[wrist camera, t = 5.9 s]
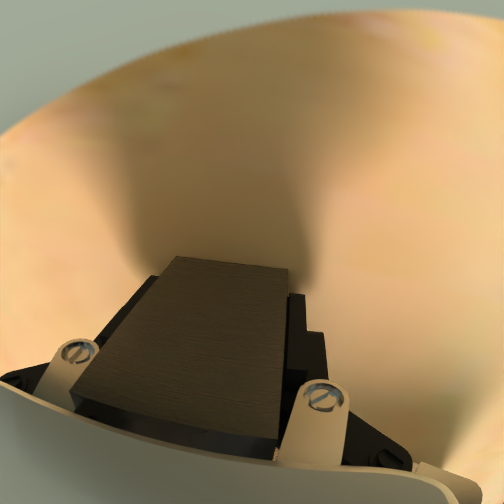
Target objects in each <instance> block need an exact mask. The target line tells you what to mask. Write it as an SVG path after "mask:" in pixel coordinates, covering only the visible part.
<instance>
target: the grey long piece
mask: <svg viewBox="0 0 504 504" xmlns="http://www.w3.org/2000/svg"><path fill="white" fill-rule="evenodd" d="M287 281H288V270H287V269H279V268H270V267H261V266H252V265H244V264H235V263H227V262H219V261H210V260H202V259H194V258H186V257H177V256H176V257H175V258H174V260H173V261H172V262H171V263H170V264H169V266H168V267H167V268H166V269H165V270H164V271H163V273H162V274H161V275H160V276H159V277H158V279H157V280H156V281H155V282H154V283H153V285H152V286H151V287H150V288H149V289H148V291H147V292H146V293H145V294H144V295H143V297H142V298H141V299H140V300H139V302H138V303H137V304H136V305H135V306H134V308H133V309H132V310H131V311H130V313H129V314H128V315H127V316H126V318H125V319H124V320H123V321H122V323H121V324H120V325H119V326H118V328H117V329H116V330H115V331H114V333H113V334H112V335H111V336H110V338H109V339H108V340H107V341H106V343H105V344H104V345H103V347H102V348H101V349H100V350H99V352H98V353H97V354H96V356H95V357H94V358H93V360H92V361H91V362H90V363H89V365H88V366H87V367H86V369H85V370H84V371H83V373H82V374H81V375H80V377H79V378H78V379H77V381H76V382H75V383H74V385H73V386H72V387H71V389H70V390H69V393H70V395H71V398H72V400H73V403H74V405H75V408H76V410H77V412H78V415H80V416H83V417H86V418H89V419H91V420H94V421H97V422H100V423H103V424H106V425H109V426H112V427H115V428H118V429H121V430H124V431H128V432H131V433H134V434H138V435H141V436H145V437H149V438H152V439H156V440H160V441H164V442H168V443H172V444H176V445H181V446H185V447H190V448H195V449H199V450H205V451H210V452H215V453H221V454H227V455H233V456H239V457H247V458H254V459H262V460H271V461H272V459H273V456H274V452H275V448H276V443H277V439H278V428H279V415H280V402H281V388H282V374H283V358H284V341H285V323H286V303H287Z"/></svg>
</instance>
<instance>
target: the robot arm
mask: <svg viewBox="0 0 504 504" xmlns="http://www.w3.org/2000/svg"><path fill="white" fill-rule="evenodd" d="M158 277H159V276H154V275H151V276H150V277H149V278H148V279H147V280H146V281H145V282H144V284H143V285H142V286H141V287H140V288H139V289H138V290H137V291H136V293H135V294H134V295H133V296H132V297H131V298H130V299H129V301H128V302H127V303H126V304H125V305H124V306H123V307H122V308H121V309H120V310H119V311H118V312H117V314H116V315H115V316H114V317H113V318H112V319H111V321H110V322H109V323H108V324H107V325H106V327H105V328H104V329H103V330H102V331H101V332H100V334H99V335H98V336H97V337H96V338H95V340H94V341H92V340H88V339H73V340H70V341H68V342H66V343H64V344H63V345H61V347H60V348H59V349H58V351H57V352H56V354H55V356H54V357H53V359H52V361H51V362H49V363H45V364H41V365H37V366H32V367H28V368H24V369H20V370H16V371H11V372H9V373H6V374H4V375H3V376H1V377H0V504H481V502H482V491H481V488H480V487H479V486H478V484H477V483H475V482H474V481H472V480H470V479H467V478H464V477H461V476H458V475H456V474H453V473H450V472H448V471H445V470H442V469H440V468H437V467H435V466H432V465H430V464H427V463H425V462H422V461H421V462H420V464H417V463H415V462H412V458H411V456H410V454H409V453H408V451H406V450H405V449H404V448H403V447H402V446H400V445H399V444H397V443H396V442H394V441H393V440H391V439H390V438H388V437H387V436H385V435H384V434H382V433H381V432H379V431H378V430H376V429H375V428H373V427H372V426H370V425H369V424H368V423H366V422H365V421H363V420H362V419H360V418H359V417H358V416H356V415H355V414H353V413H352V412H350V411H349V403H350V400H349V395H348V393H347V391H346V390H345V389H344V388H343V387H342V386H341V385H339V384H337V383H335V382H333V381H329V379H328V369H327V359H326V349H325V340H324V334H323V332H312V331H307V324H306V303H305V295H303V294H294V293H290V294H289V297H287V303H286V323H285V341H284V358H283V374H282V388H281V402H280V415H279V428H278V439H277V443H276V447H277V448H278V449H279V453H278V456H277V459H276V461H271V460H262V459H254V458H247V457H239V456H233V455H227V454H221V453H215V452H210V451H205V450H199V449H195V448H190V447H185V446H181V445H176V444H172V443H168V442H164V441H160V440H156V439H152V438H149V437H145V436H141V435H138V434H134V433H131V432H128V431H124V430H121V429H118V428H115V427H112V426H109V425H106V424H103V423H100V422H97V421H94V420H91V419H89V418H86V417H83V416H80V415H78V412H77V410H76V408H75V405H74V403H73V400H72V398H71V395H70V393H69V390H70V389H71V387H72V386H73V385H74V383H75V382H76V381H77V379H78V378H79V377H80V375H81V374H82V373H83V371H84V370H85V369H86V367H87V366H88V365H89V363H90V362H91V361H92V360H93V358H94V357H95V356H96V354H97V353H98V352H99V350H100V349H101V348H102V347H103V345H104V344H105V343H106V341H107V340H108V339H109V338H110V336H111V335H112V334H113V333H114V331H115V330H116V329H117V328H118V326H119V325H120V324H121V323H122V321H123V320H124V319H125V318H126V316H127V315H128V314H129V313H130V311H131V310H132V309H133V308H134V306H135V305H136V304H137V303H138V302H139V300H140V299H141V298H142V297H143V295H144V294H145V293H146V292H147V291H148V289H149V288H150V287H151V286H152V285H153V283H154V282H155V281H156V280H157V279H158Z"/></svg>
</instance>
